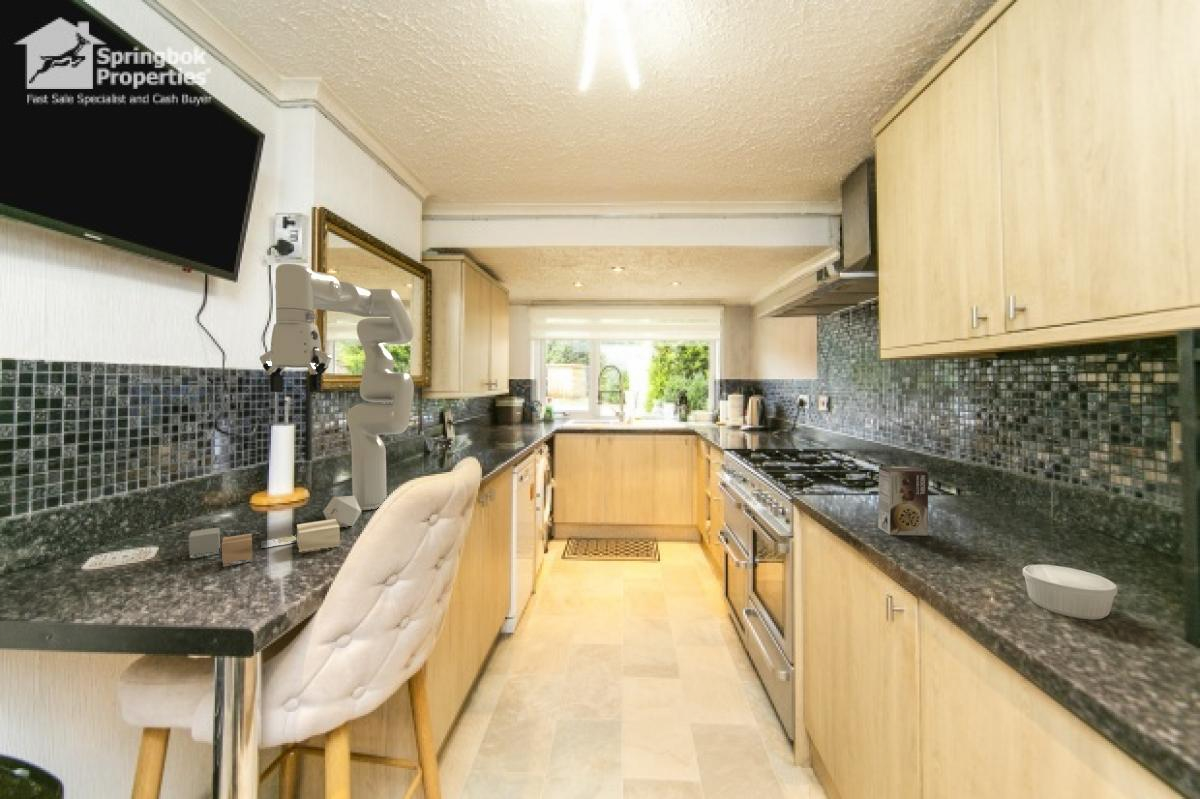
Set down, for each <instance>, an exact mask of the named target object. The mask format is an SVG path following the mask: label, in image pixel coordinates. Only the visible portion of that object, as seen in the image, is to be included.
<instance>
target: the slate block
mask: <svg viewBox="0 0 1200 799" xmlns="http://www.w3.org/2000/svg"><path fill="white" fill-rule="evenodd" d="M220 530H221V529H220V527H213V528H212V527H211V528H204V529H198V530H192V531H191V532H190V533H189V536H188V552H189V553H188V554H189V555H190V554H198V553H206V552H214V551H219V548H220V549H221V532H220Z"/></svg>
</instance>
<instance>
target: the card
mask: <svg viewBox="0 0 1200 799" xmlns="http://www.w3.org/2000/svg"><path fill="white" fill-rule="evenodd" d="M294 535H295V536H296V535H297V534H294ZM291 536H292V537H287V536H285V537H286V538H283V537H284V536H282V538H281V537H279V538H280V539H278V543H281V542H288V541H294V540H296V537H295V536H293V535H291ZM273 541H274V540H273ZM274 542H275V541H274Z"/></svg>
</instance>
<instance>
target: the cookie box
mask: <svg viewBox="0 0 1200 799" xmlns="http://www.w3.org/2000/svg"><path fill="white" fill-rule="evenodd" d="M877 521H878V523H877V526H878V529H880V530H881V531H883V532H884V533H886V534H887V535H889V536H929V471H928V470H925V469H924V468H922V467H921V468H920V467H917V466H878V520H877Z"/></svg>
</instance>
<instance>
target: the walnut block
mask: <svg viewBox="0 0 1200 799" xmlns="http://www.w3.org/2000/svg"><path fill="white" fill-rule="evenodd" d="M221 559H222V560H221V562H222V563H228V562H233V561H239V560H245V559H252V560H253V533H247V534H246V533H245V534H240V535H231V536H225V537H222V541H221Z"/></svg>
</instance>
